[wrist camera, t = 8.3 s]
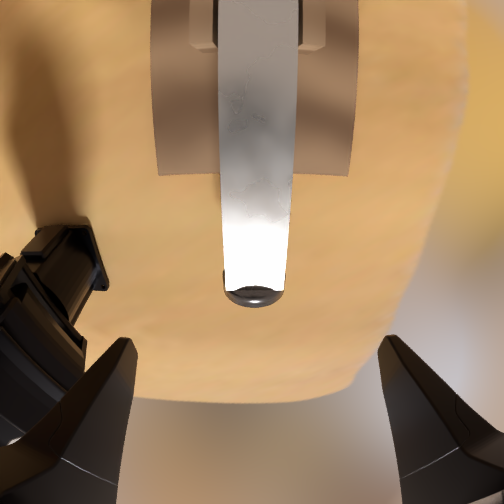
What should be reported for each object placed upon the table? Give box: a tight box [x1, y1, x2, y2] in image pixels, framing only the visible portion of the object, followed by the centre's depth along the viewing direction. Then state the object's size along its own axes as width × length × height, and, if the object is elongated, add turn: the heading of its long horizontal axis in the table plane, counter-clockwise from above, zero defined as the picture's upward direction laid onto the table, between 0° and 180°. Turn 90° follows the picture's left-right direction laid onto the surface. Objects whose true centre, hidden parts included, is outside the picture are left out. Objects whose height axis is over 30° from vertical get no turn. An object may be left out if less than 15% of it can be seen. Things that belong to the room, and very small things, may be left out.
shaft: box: [218, 0, 298, 308], centre depth 12 cm, size 19×4×4 cm, turn 0°
